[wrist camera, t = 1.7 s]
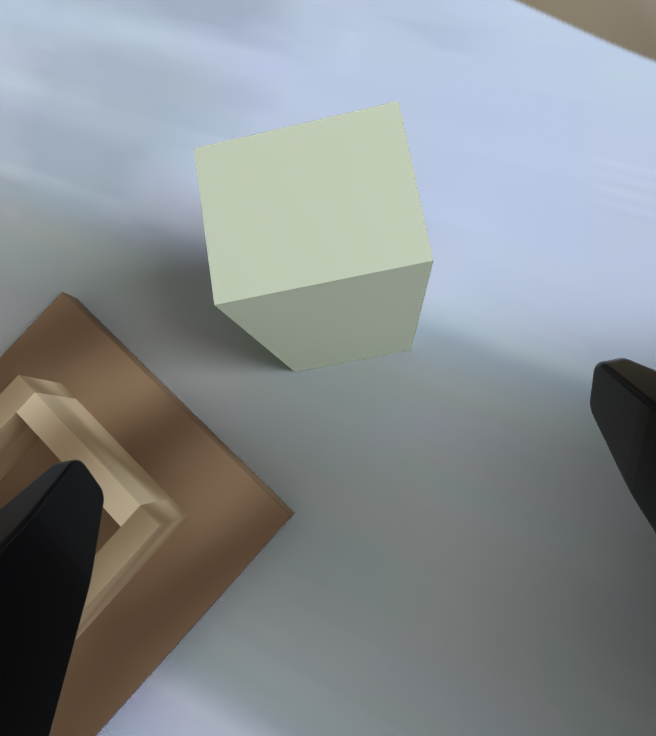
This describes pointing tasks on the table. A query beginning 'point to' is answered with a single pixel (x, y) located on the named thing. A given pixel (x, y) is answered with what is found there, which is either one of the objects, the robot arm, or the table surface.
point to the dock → (128, 500)
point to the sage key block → (318, 237)
